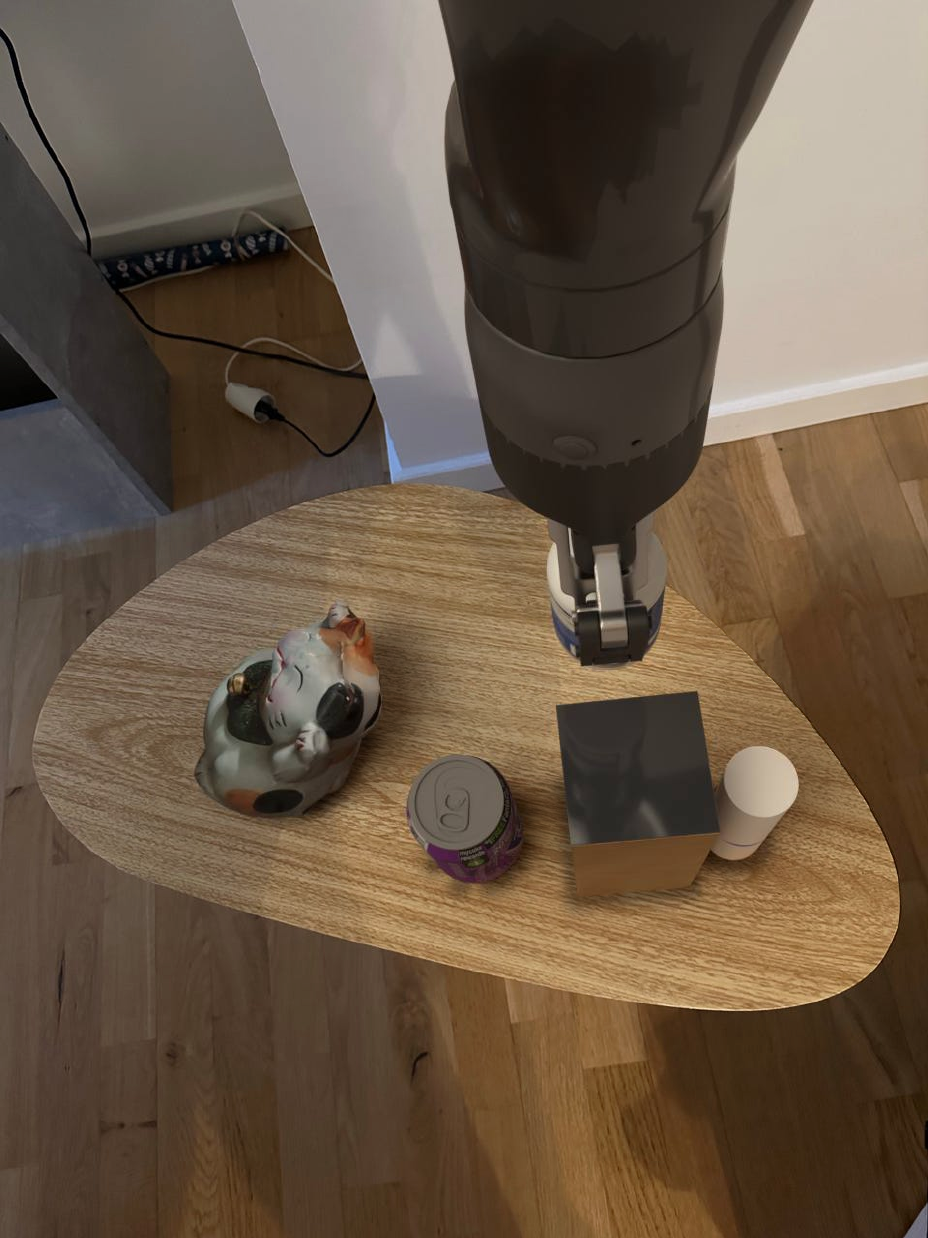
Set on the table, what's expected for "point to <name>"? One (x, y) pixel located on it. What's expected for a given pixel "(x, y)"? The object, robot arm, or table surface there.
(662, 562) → the pill bottle
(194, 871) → the table surface
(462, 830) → the beverage can
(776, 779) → the tube
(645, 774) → the slate coaster
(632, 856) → the walnut plinth
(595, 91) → the robot arm
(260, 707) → the lucky cat figurine
